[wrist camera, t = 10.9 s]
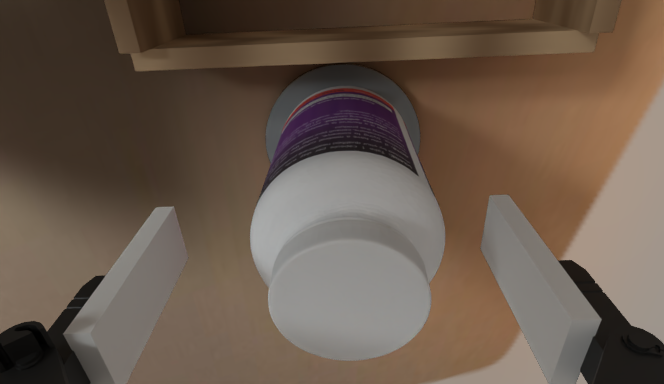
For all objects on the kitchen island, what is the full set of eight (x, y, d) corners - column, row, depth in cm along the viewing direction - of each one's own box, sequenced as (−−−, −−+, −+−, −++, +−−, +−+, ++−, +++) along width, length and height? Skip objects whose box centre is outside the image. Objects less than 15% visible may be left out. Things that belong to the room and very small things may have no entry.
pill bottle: (257, 137, 26) (176, 295, 13) (352, 52, 23) (363, 149, 11) (338, 217, 29) (335, 410, 16) (432, 150, 26) (515, 318, 14)
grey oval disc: (276, 207, 29) (274, 211, 29) (257, 66, 24) (255, 68, 24) (414, 203, 29) (415, 208, 28) (423, 59, 24) (425, 61, 23)
